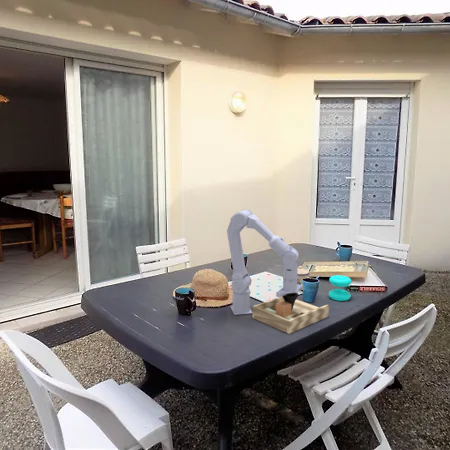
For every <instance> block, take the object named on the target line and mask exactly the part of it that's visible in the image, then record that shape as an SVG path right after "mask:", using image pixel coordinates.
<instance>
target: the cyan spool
mask: <svg viewBox="0 0 450 450" xmlns="http://www.w3.org/2000/svg"><path fill="white" fill-rule="evenodd" d="M328 281H329V283H330V284H331V285H333V286H335V287H337V288H332V289H331V290H330V291H328V297H329V298H330V299H331V300H335V301H338V302H339V301H340V302H344V301H348V300H350V299H351V293H350V292H349V291H348V290H346V289H342V288H346V287H349V286H350V285H351V284H352V279H351V278H350V277H348V276H346V275H340V274H338V275H337V274H336V275H331V276H330V277H329V280H328Z"/></svg>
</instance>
